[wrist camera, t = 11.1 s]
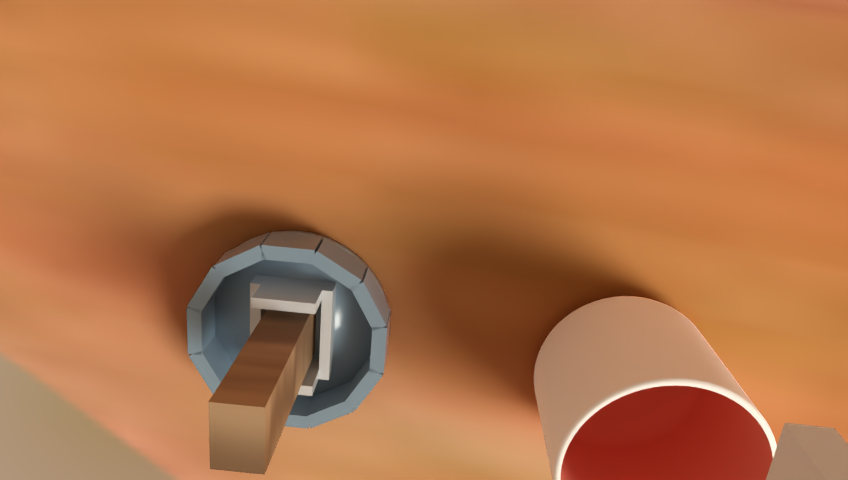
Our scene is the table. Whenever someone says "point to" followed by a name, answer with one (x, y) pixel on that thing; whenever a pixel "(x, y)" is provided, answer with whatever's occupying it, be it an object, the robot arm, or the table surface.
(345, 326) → the blue bowl
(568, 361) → the cup
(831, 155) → the table surface
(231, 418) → the wooden rectangular block
